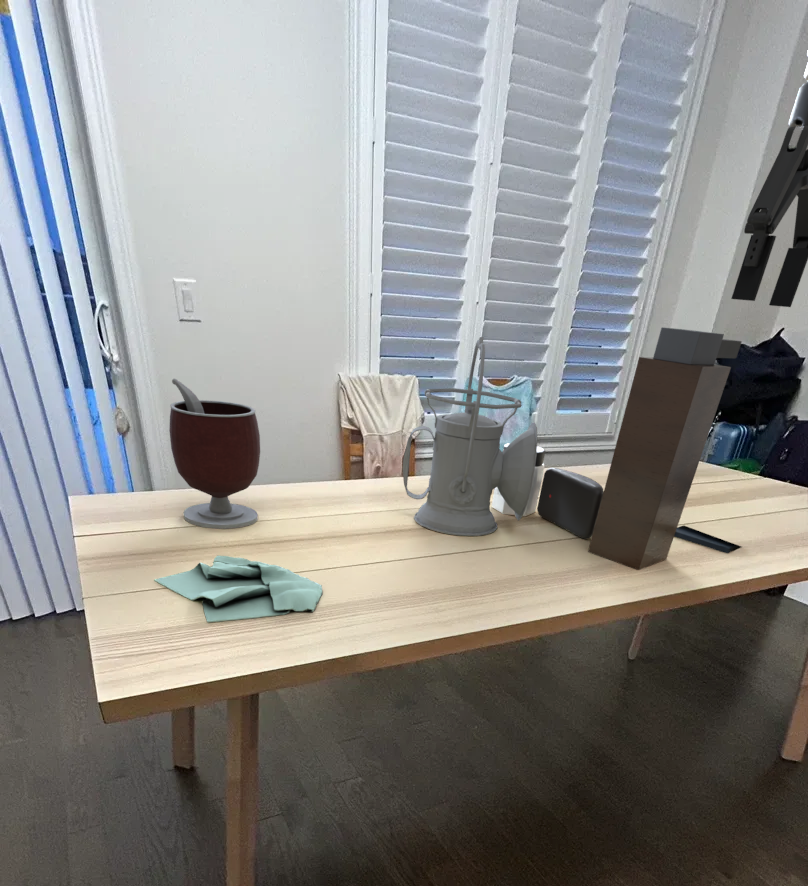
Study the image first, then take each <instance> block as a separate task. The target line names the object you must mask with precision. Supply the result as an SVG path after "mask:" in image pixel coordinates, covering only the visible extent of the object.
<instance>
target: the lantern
mask: <svg viewBox="0 0 808 886" xmlns="http://www.w3.org/2000/svg"><path fill="white" fill-rule="evenodd" d="M485 345H486V344H485V343H484V337H483V336H480V337H479V338H478V339H477V340H476V343H475V346H474V350H473V355H472V360H471V361H472V362H471V365H470V370H469V375H468V384H467V389H465V388H456V387H449V388H447V387H445V388H427V389H425V391H424V396H425V397H426V400H427V405H428V407H429V409H431V411H432V412H433V414H434V418H435V419H434V429H435V433H433V431H432V429H431V428H430V427H428V426H424V425H421V426H417V427H414V428H413V429H412V431H411V433H410V435H409V436H408V438H407V441H406V445H405V449H404V453H403V460H402V479H403V485H404V489H405V492H406V495H407V496H408V497H410V498H411V499H414V500H422V499H424V498H425V497H426V501H425V502H424V503H423V504H422V505H421V506H420V507H419V508H418V510H417V511H416V512H415V514H414V516H413V519H414V521H415V522H416V523H417V524H418V525H420V526H421V527H423V528H425V529H427V530H430V531H433V532H436V533H440V534H446V535H450V536H451V535H453V536H461V537H478V536H480V537H481V536H486V535H490V534H492V533H494V532H496V531H497V530H498V523H497V522H496V518H495V516H494V514H493V512H492V511H491V498H492V496H493V491H494V488H496V487H497V488H498V490H499V492H500V494H501V496H502V497H503V499H504V500H505V501H506V503H507V504H508V506H509V507H510V508H511V509H512V510H514V511H515V515H514V516H515V519H516V520H517V521H520V520H521V519H522V518H523V514H524V512H525V509H526V506H527V503H528V500H529V496H530V491H531V487H532V482H533V476H534V471H535V463H536V455H537V446H538V427H537V424H536V422H534V421H533V422H531V423H530V424H529V426H528V427H527V430H525V431H523V432H522V433H520V434H519V435H518V436H516V437H515V438H514V439H513V440H512V441H511V442H510V444H509V445H508V446H507V447H506V448H505V450H504V451H503V450H501V449H500V447H501V443H500V442H501V437H502V436H503V433H504V428H505V425H506V423H507V422H508V421H509V419H511V418H512V417H513V416H514V415H516V413H517V410H518V409H520V408H522V406H523V404H522V401H521V399H518V398H516V397H511V396H508V395H507V396H506V395H505V394H504V395H503V394H499V393H494V392H490V391H483V384H484V383H483V382H484V381H483V380H484V373H485V372H484V370H485V359H486V358H485V357H486V347H485ZM479 350H480V363H479V373H478V374H479V375H478V385H477V390H474V388H472V386H473V377H474V371H475V367H476V360H477V357H478V352H479ZM432 393H433V394H432ZM434 393H435V394H436V393H457V394H466V396H465V401H464V400H463V401H462V400H455V399H451V398H447V397H444V396H439V395H434ZM473 395H474V396H476V399H475V400H473ZM482 396H485V397H491V398H495V399H499V400H503V401H508V402H512V403H505V404H492V403H484V402H483V403H481V398H482ZM430 400H433V401H439V402H443V403H447V404H450V405H455V406H461V407H464V412H453V413H445V414H438V415H437V413H436V410H435V408H434V407H433V406H432V405H431V403H430ZM480 409H488V410H489V409H491V410H503V409H504V410H505V409H514V410H513V412H511V413H510V414H509V415H508V416H507V417H506V418H504V420H503V422H500V421H498V420H495V419H492V418H489V417H487V416H486V415H482V414H480ZM419 431H427V432H428V433H430V435H431V437H432V440H433V444H432V457H431V458H432V459H431V465H430V466H431V468H430V477H429V480H428V487H427V488H425V491H424V492H423V493H420V494H416V493H413V492H411V491H410V490H409V489H408V480H409V471H410V470H409V469H410V460H411V447H412V437H413V435H414V433H416V432H419ZM502 451H503V452H502Z"/></svg>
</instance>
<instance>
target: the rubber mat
mask: <svg viewBox="0 0 808 886" xmlns="http://www.w3.org/2000/svg"><path fill="white" fill-rule="evenodd" d="M674 538H677V539H681V540H683V541H686V542H689V543H693V544H696V545H699V546H703V547H705V548H709V549H711V550H714V551H717V552H721V553H724V554H727V555H728V554H730V553H733V552H734V551H736V550H739V549H742V546H741V545H738V544H736V543H733V542H730V541H727V540H725V539H722V538H719V537H717V536H714V535H711V534H709V533H706V532H704V531H700V530H697V529H695V528H692V527H689V526H688V525H687V526H686V525H684V524H683V525H680V526H677V529H676V532H675V535H674Z"/></svg>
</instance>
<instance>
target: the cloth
mask: <svg viewBox="0 0 808 886" xmlns="http://www.w3.org/2000/svg"><path fill="white" fill-rule="evenodd" d="M153 581H154V582H156V583H157V584H159V585H161V586H163V587H165V588H166V589H168V590H171V591H172V592H174V593H176V594H178V595H180V596H181V597H184V598H186V599H188V600H190V601H195V600H197V599H201V598H204V599H203V600H202V601H201V603H202V607H203V613H204V616H205V619H206V622H207V623H216V622H229V621H238V620H239V621H240V620H249V619H258V618H266V617H274V616H275V617H276V616H285V615H287V614H289V613H290V612H291V611H294V612H304V611H306V612H311V613H314V612H315V610H316V608H317V605H318V604H319V602H320V599H321V597H322V596H323V592H324V591H323V585H322V584H320V583H318V582H316V581H314V580H310V579H309V578H308V577H305V576H301V575H300V574H298V573H295V572H293V571H292V570H290V569H289V568H285V567H282V566H281V565H277V564H269V563H265V562H262V561H258V560H252V561H251V560H250V559H248V558H244V557H233V556H228V555H216V556H215V557H214V559H213V561H212V566H210V565H208V564H207V563H203V562H198V563H197V564H196V565H195V567H194V568H191V569H190V570H186V571H183V572H182V571H181V572H178V573H175V574H171V575H166V576H163V577H159V578H155V579H153Z"/></svg>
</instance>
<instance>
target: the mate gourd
mask: <svg viewBox="0 0 808 886" xmlns="http://www.w3.org/2000/svg"><path fill="white" fill-rule="evenodd" d="M171 383H172V385H174V386H176V388H177V389H178V390H179V393H180V394H181V397H182V399H183V400H181V401H175V402H173V403H171V404H170V406H169V407H170V411H169V412H170V414H169V440H170V448H171V453H172V457H173V461H174V464H175V467H176V470H177V472H178V474H179V476H180V477H181V478H182V479H183V480H184V481H185V483H186V484H187V485H188V486H189V487H190V488H192V489H194V490H197V491H199V492H201V493H204V494H206V495H208V496H211V498H210V502H205V503H199V504H195V505H190V506H188V507H186V508H184V510H183V519H184V520H185V521H186V522H187V523H189V524H190V525H193V526H197V527H201V528H207V529H218V530H219V529H220V530H222V529H223V530H224V529H225V530H227V529H238V528H243V527H249V526H251V525H253V524H255V523H256V522H257V521H258V519H259V514H258V512H257V511H256V510H255V509H254V508H252V507H249V506H246V505H242V504H238V503H232V502H231V501H230V498H229V497H230V496H231V495H234V494H237V493H239V492H242V491H244V490H247V489H248V488H249V487H250V486H251V484H252V483H253V481H254V480H255V479H256V477H257V475H258V471H259V466H260V459H261V458H260V457H261V435H260V429H259V422H258V418H257V415H256V409H255V408H254V407H252V406H249V405H247V404H241V403H237V402H230V401H221V400H207V399H206V400H203V399H202V400H201V399H199V398H198V396H197V395H196V394H195V393H194V392H193V391H192V389H190V388H189V387H188V386H186V385H185V384H184V383H183V382H181V381H179V380H178V379H176V378H173V379H172V380H171Z"/></svg>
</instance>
